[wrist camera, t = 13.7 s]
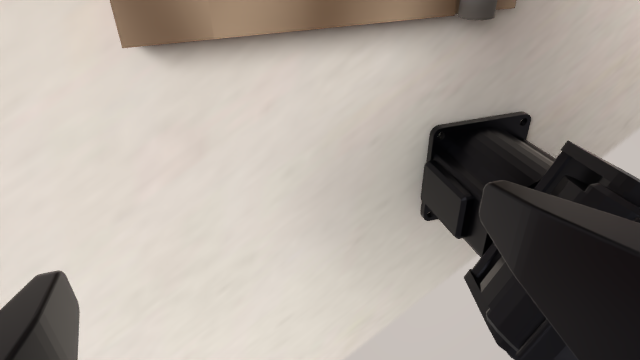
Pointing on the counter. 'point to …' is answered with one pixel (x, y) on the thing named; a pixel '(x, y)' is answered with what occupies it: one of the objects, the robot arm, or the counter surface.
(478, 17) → the shelf frame
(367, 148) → the counter surface
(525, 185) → the robot arm
